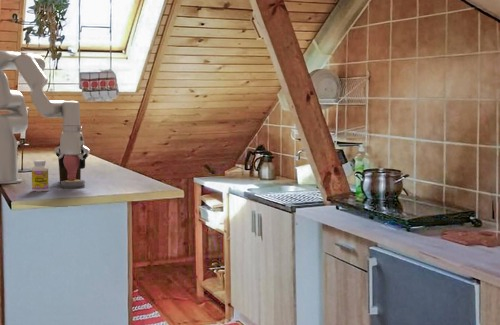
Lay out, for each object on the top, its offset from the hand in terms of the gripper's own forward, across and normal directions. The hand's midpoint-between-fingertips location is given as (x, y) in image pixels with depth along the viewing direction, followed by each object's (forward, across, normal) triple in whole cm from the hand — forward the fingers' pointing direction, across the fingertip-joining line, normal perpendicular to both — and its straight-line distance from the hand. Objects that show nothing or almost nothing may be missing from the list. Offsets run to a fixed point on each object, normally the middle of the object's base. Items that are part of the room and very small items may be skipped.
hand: (72, 168), depth 285 cm
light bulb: (+6, 0, 0) cm, 6 cm away
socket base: (+8, 0, 0) cm, 8 cm away
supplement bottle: (+8, +7, +14) cm, 18 cm away
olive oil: (+8, +10, -15) cm, 20 cm away
